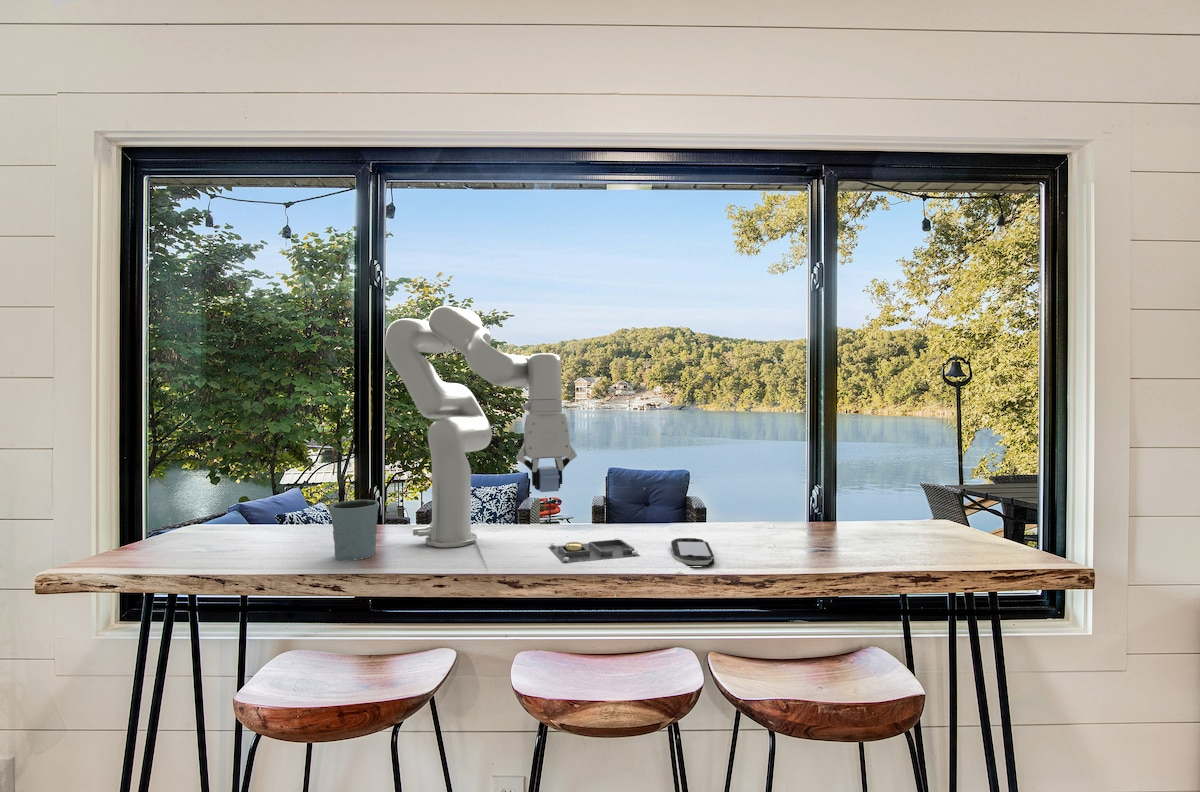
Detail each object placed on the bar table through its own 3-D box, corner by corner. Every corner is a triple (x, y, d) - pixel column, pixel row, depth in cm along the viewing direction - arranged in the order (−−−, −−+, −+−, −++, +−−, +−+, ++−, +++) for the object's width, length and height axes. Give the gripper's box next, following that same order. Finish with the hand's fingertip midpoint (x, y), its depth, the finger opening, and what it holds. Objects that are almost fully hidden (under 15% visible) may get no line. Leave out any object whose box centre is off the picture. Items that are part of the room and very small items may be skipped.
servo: (542, 493, 124) (541, 470, 124) (535, 487, 132) (534, 466, 132) (559, 491, 125) (559, 469, 125) (552, 486, 133) (551, 465, 133)
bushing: (567, 555, 127) (567, 546, 127) (564, 551, 130) (564, 542, 130) (583, 554, 128) (583, 545, 128) (580, 550, 131) (580, 541, 131)
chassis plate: (562, 567, 121) (562, 558, 121) (547, 551, 134) (547, 542, 134) (640, 560, 127) (640, 551, 127) (618, 544, 140) (618, 536, 140)
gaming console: (670, 546, 141) (670, 536, 141) (706, 546, 140) (706, 536, 140) (674, 569, 122) (674, 557, 122) (716, 570, 121) (716, 558, 121)
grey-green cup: (386, 550, 134) (386, 500, 134) (364, 562, 124) (364, 508, 124) (345, 549, 135) (345, 499, 135) (320, 561, 125) (321, 507, 125)
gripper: (511, 408, 123) (512, 493, 123) (585, 407, 128) (587, 488, 127) (506, 408, 130) (508, 488, 130) (576, 407, 135) (578, 484, 135)
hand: (547, 487), depth 129 cm, fingers closed on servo, 4 cm apart
